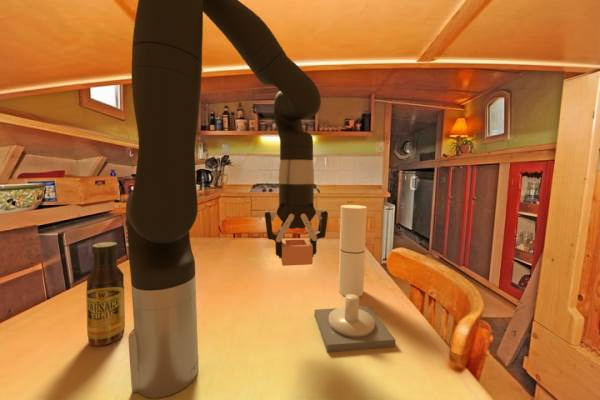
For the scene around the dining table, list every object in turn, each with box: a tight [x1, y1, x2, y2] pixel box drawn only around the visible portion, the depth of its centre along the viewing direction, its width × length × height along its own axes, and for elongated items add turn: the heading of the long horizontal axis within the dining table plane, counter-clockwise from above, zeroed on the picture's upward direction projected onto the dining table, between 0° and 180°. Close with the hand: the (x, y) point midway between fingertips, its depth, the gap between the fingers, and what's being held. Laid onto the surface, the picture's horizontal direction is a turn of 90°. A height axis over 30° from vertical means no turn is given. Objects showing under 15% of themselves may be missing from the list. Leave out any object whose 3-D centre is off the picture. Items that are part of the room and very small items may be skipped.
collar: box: [280, 237, 314, 267], centre depth 58 cm, size 6×6×4 cm
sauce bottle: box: [85, 241, 126, 347], centre depth 53 cm, size 7×6×20 cm
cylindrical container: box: [338, 204, 368, 298], centre depth 75 cm, size 7×7×25 cm
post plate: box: [314, 294, 396, 353], centre depth 58 cm, size 14×13×8 cm
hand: (296, 256), depth 58 cm, fingers closed on collar, 6 cm apart
